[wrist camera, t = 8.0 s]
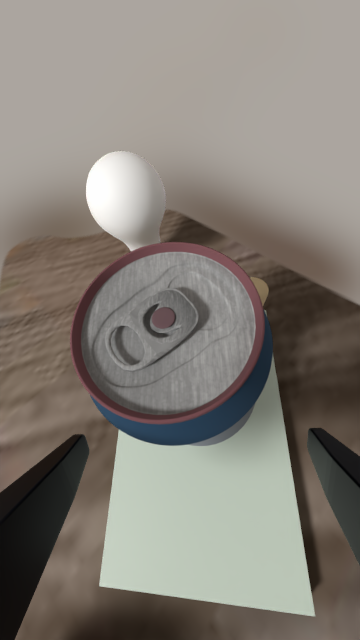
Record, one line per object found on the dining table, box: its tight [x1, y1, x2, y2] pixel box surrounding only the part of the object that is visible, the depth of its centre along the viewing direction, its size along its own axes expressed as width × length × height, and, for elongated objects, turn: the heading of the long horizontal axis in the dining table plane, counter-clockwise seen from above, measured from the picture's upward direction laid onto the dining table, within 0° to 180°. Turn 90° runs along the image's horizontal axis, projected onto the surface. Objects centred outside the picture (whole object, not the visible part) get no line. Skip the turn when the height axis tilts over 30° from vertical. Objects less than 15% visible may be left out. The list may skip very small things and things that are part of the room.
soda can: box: [70, 242, 273, 446], centre depth 12 cm, size 7×7×12 cm
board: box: [99, 277, 315, 616], centre depth 14 cm, size 18×12×6 cm, turn 179°
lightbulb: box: [86, 151, 166, 251], centre depth 20 cm, size 6×6×11 cm
